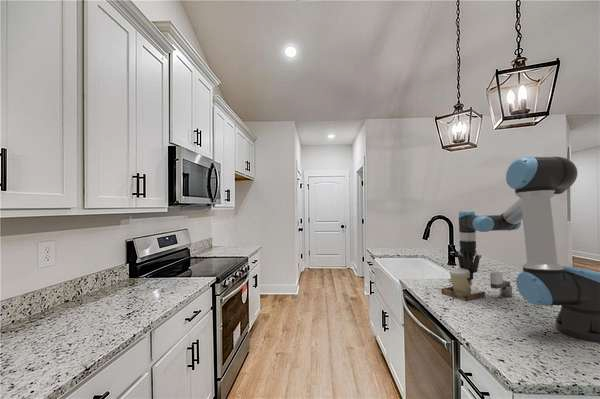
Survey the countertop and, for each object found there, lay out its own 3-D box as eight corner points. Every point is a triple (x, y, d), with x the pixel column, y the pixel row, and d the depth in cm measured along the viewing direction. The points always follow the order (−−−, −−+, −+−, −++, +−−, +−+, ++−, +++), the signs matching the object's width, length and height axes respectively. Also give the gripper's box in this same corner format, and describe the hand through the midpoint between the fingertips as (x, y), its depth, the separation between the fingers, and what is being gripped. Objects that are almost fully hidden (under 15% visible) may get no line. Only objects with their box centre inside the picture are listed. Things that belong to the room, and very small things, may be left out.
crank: (504, 284, 149) (503, 269, 149) (511, 285, 146) (511, 271, 146) (489, 287, 144) (489, 272, 144) (497, 289, 141) (496, 274, 141)
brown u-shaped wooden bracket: (485, 296, 146) (484, 291, 146) (466, 301, 140) (466, 296, 140) (459, 289, 158) (459, 284, 158) (441, 293, 152) (441, 288, 152)
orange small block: (479, 288, 160) (479, 287, 160) (478, 288, 159) (478, 288, 159) (474, 287, 162) (474, 286, 162) (473, 287, 161) (473, 286, 161)
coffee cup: (475, 296, 144) (471, 273, 144) (454, 297, 147) (451, 274, 146) (470, 289, 153) (467, 267, 152) (450, 290, 156) (447, 268, 155)
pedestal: (514, 296, 145) (514, 286, 145) (508, 297, 143) (508, 287, 143) (504, 293, 150) (503, 283, 150) (498, 295, 148) (497, 285, 148)
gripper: (484, 241, 147) (486, 287, 147) (460, 238, 159) (462, 280, 159) (474, 242, 144) (476, 289, 144) (451, 239, 156) (452, 283, 156)
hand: (469, 285), depth 152 cm, fingers closed
